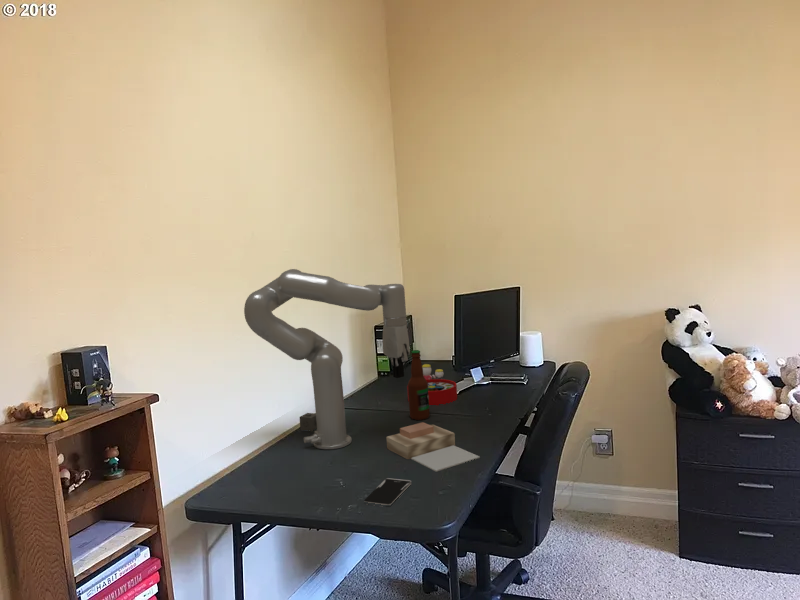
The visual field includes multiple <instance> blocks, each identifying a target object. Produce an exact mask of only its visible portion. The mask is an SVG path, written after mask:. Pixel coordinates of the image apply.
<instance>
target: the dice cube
mask: <svg viewBox="0 0 800 600" xmlns="http://www.w3.org/2000/svg"><path fill="white" fill-rule="evenodd" d="M299 425H300V431H303V430H308V431H307V432H314V431H315V430H314V429H316V428H317V422H316V412H315V413H312V412H306V413H305V414H302V415H300V416H299ZM309 430H310V431H309ZM313 430H314V431H313ZM316 430H317V429H316Z"/></svg>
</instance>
